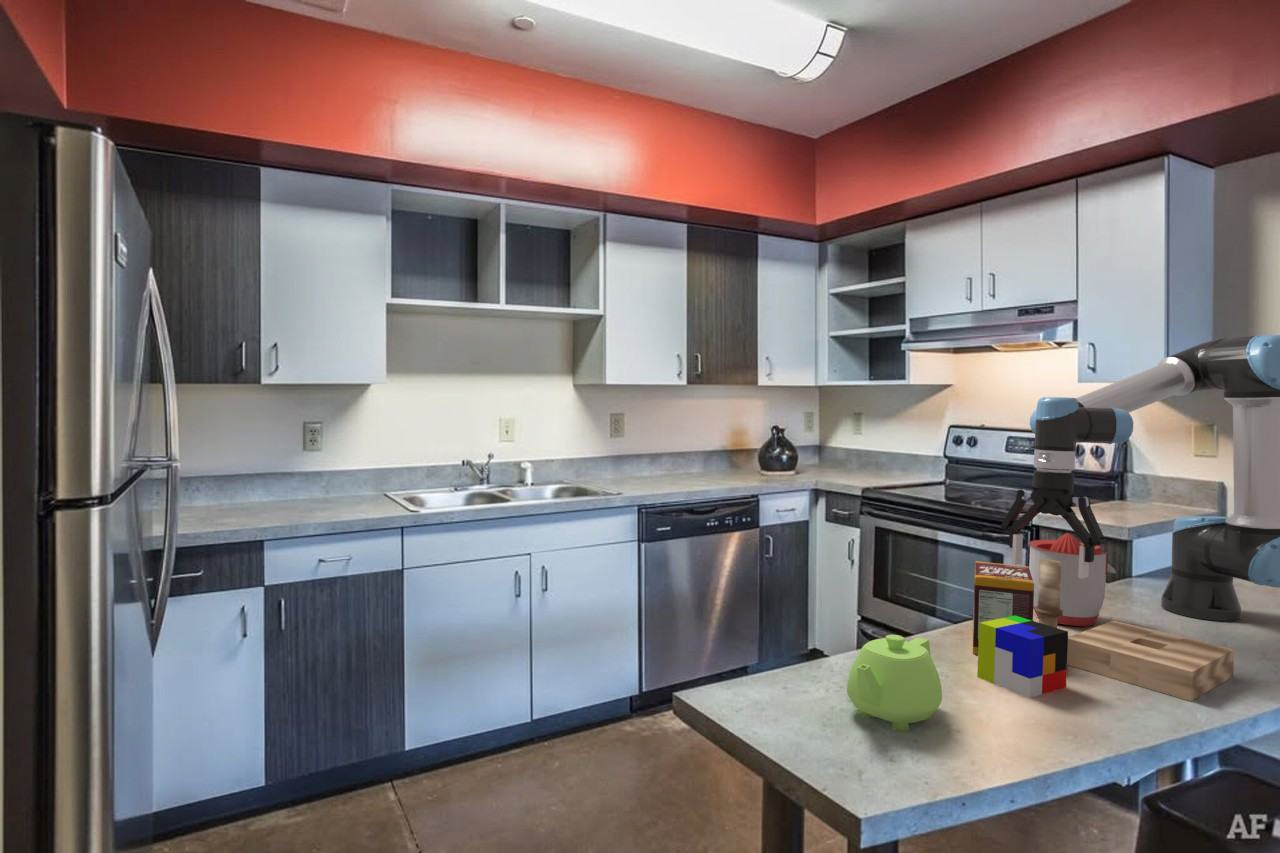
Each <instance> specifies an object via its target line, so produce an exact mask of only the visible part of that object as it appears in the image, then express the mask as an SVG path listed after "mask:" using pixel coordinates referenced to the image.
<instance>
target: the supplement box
mask: <svg viewBox="0 0 1280 853" xmlns="http://www.w3.org/2000/svg"><path fill="white" fill-rule="evenodd" d="M974 564H975V565H974V582H973V583H974V584H973V610H972V611H973V613H972V614H973V615H972V654H973V655H977V656H978V643H979V623H980V622H985V621H990V620H995V619H1000V618H1005V617H1010V616H1018V617H1022V618H1025V619H1028V620H1032V621H1034V608H1033V606H1034V581H1033V579H1032V576H1031V573H1030V569H1029V566H1026V565H1019V564H1016V565H1014V564H1007V563H1006V564H1005V563H996V562H995V563H994V562H988V561H987V562H986V561H978V560H975V563H974Z"/></svg>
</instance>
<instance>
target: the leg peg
mask: <svg viewBox="0 0 1280 853" xmlns="http://www.w3.org/2000/svg"><path fill="white" fill-rule="evenodd" d="M1060 585H1061V562H1059V561H1055V560H1047V559H1042V560H1040V563H1039V591H1038V606H1035V610H1034V613H1035V612H1036V613H1038V614H1039V617H1038V623H1042V624H1045V625H1048V626H1052V627H1055V628H1058V623H1057V620H1058V617H1059V616H1062V615H1063V610H1061V609H1060ZM1036 613H1035V614H1036Z"/></svg>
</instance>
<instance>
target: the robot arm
mask: <svg viewBox="0 0 1280 853" xmlns="http://www.w3.org/2000/svg"><path fill="white" fill-rule="evenodd" d="M1208 390H1209V391H1213V390H1214V391H1215V390H1216V391H1218V390H1220V391H1221V390H1222V391H1223V399H1224V401H1226V402H1227V403H1229V404H1230V405H1231V406H1232V434H1233V435H1232V440H1233V443H1232V447H1233V450H1232V451H1233V452H1232V453H1233V454H1232V456H1233V458H1232V459H1233V460H1232V462H1233V466H1232V467H1233V513H1232V514H1231V515H1230V516H1213V515H1212V516H1205V515H1201V516H1199V515H1198V516H1197V515H1188V516H1187V515H1185V516H1179V517H1176V519H1175V520H1174V522H1173V530H1172V531H1171V532H1172V533H1171V534H1172V537H1171V538H1172V542H1171V544H1172V545H1171V575H1170V578H1169V580H1168V582H1167V584H1166V587H1165V589H1164V590H1163V593H1162V595H1161V601H1160V606H1161V608H1163V609H1164V610H1165V611H1168V612H1171V613H1174V614H1178V615H1180V616H1185V617H1189V618H1194V619H1201V620H1209V621H1218V622H1234V621H1239V620H1241V618H1242V606H1241V604H1240V602H1239V598H1238V596H1237V595H1238V594H1237V592H1236V589H1235V586H1234V578H1235V579H1238V580H1243V581H1245V582H1249V583H1250V582H1251V583H1253V584H1256V585H1257V586H1266V587H1271V588H1277V589H1279V588H1280V334H1258V335H1251V336H1249V335H1248V336H1240V337H1231V338H1230V337H1229V338H1219V339H1212V340H1209V341H1205V342H1202V343H1199V344H1197V345H1194V346H1192V347H1189V348H1187V349H1183V350H1181V351H1179V352H1176V353H1174V354H1172V355H1169V356H1167V357H1165V358H1162V359H1161V360H1160V361H1159V362H1158V364H1157V365H1156V366H1153V367H1150V368H1149V369H1146V370H1143V371H1141V372H1139V373H1137V374H1134V375H1131V376H1128V377H1126V378H1124V379H1120V380H1118V381H1116V382H1113V383H1110V384H1109V385H1106V386H1104V387H1101V388H1099V389H1096V390H1093V391H1091V392H1089V393H1085V394H1083V395H1080V396H1079V397H1065V396H1064V397H1062V396H1061V397H1060V396H1057V397H1056V396H1052V397H1051V396H1044V397H1040V398H1039V399H1038V401H1037V403H1036V409H1035V410H1034V411H1033V412H1032V413H1031V415H1030V419H1029V428H1030V429H1031V431H1032V433H1033V434H1034V451H1033V452H1034V454H1033V455H1034V456H1033V467H1034V468H1035V470H1034V471H1033V472H1032V474H1033V475H1032V491H1029V490H1028V489H1026V488H1025V489H1018V490H1017V491H1016V497H1015V500H1014V502H1013V504H1012V505H1011V508H1010V509H1009V510H1008V512H1007V514H1006V516H1005V517H1004V519H1003V520H1002V523H1001V524H1000V529H1002V530H1004V531H1007V532H1008V535H1009V536H1008V537H1009V538H1008V546H1009V548H1010V549H1012V552H1011V565H1020V564H1022V563H1023V559H1022V558H1023V546H1024V545H1023V542H1024V541H1023V540H1024V534H1023V533H1021V531H1022V530H1023V529H1024V528H1025V527H1027V525H1028V524H1029V523H1030V522H1031V521H1033V519H1034V518H1035V517H1037V515H1039V514H1040V513H1041V514H1043V515H1048V514H1049V515H1052V516H1061V517H1062V518H1063V519H1064V520H1065V521H1066V523H1067V524H1068V525H1069V526H1070V528H1071V529H1072V531H1073V532H1074V533H1075V535H1076V536H1077V537H1078V538H1079V540H1080V541H1081V543H1083V544H1084V545H1082V546H1080V550H1079V569H1078V578H1086V577H1088V573H1089V563H1090V562H1093V561H1094V550H1095V546H1102V545H1105V544H1106V542H1107V540H1106V539H1105V536H1104V534H1103V531H1102V529H1101V527H1100V524H1099V522H1098V520H1097V518H1096V516H1095V514H1094V512H1093V509H1092V508H1091V506H1092V505H1091V498H1090V497H1089V496H1081V497H1077V496H1076V497H1075V496H1074V489H1075V488H1074V485H1075V473H1073V472H1072V471H1074V470H1075V469H1076V449H1077V448H1076V447H1077V444H1080V443H1083V444H1084V443H1086V444H1108V445H1112V444H1122V443H1125V442H1126V441H1128V440H1129V439H1130V438H1131V436H1132V434H1133V432H1134V420H1133V417H1132V415H1131V414H1130V413H1132V412H1135V411H1136V410H1139V409H1141V408H1145V407H1147V406H1149V405H1152V404H1154V403H1156V402H1159V401H1163V400H1164V399H1166V398H1169V397H1172V396H1176V397H1179V396H1180V397H1182V396H1183V397H1184V396H1186V395H1189V394H1192V393H1195V392H1201V391H1208ZM1030 499H1031V501H1032V503H1033V504H1032V505H1031V506H1030V507H1029V508H1028V510H1027V511H1026V512H1025V513H1024V514H1023V515H1022V516H1021V517H1020V518H1019V515H1020V513H1021V512H1022V511H1023V508H1024V507H1025V505H1026V504H1027V501H1029V500H1030ZM1074 504H1075V506H1076V507H1077V508H1078V511H1079V514H1080V516H1081V517H1082V519H1083V522H1084V524H1085V526H1086V527H1085V526H1084V524H1083V523H1082V522H1081V520H1080V519H1079V518H1078V516H1077V515H1076V512H1075V511H1074V510H1073V507H1072V506H1074ZM1017 518H1019V519H1018V520H1017ZM1016 520H1017V521H1016Z"/></svg>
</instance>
